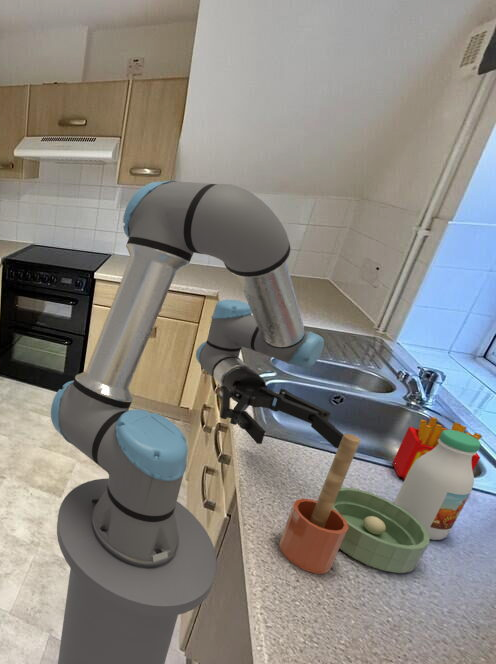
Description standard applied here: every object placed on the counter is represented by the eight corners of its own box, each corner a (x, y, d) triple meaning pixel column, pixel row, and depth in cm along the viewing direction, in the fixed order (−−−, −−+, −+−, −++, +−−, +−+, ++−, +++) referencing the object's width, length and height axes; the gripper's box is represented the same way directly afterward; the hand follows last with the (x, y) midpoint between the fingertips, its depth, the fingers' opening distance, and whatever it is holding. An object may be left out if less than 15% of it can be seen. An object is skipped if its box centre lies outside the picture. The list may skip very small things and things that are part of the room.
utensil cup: (281, 561, 70) (297, 521, 67) (277, 531, 76) (291, 492, 73) (334, 581, 67) (353, 540, 64) (325, 548, 73) (342, 508, 70)
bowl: (325, 552, 72) (336, 527, 70) (311, 502, 83) (321, 478, 81) (429, 589, 66) (444, 562, 64) (399, 529, 77) (412, 504, 75)
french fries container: (459, 499, 84) (490, 442, 80) (399, 481, 89) (425, 426, 84) (447, 479, 90) (475, 425, 85) (391, 463, 95) (415, 410, 90)
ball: (363, 533, 75) (369, 521, 74) (358, 522, 78) (364, 510, 77) (384, 540, 74) (390, 528, 73) (379, 528, 76) (385, 516, 75)
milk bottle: (404, 535, 76) (449, 445, 69) (380, 504, 83) (419, 420, 76) (457, 546, 74) (509, 455, 67) (428, 514, 81) (473, 428, 74)
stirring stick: (298, 554, 71) (345, 438, 62) (297, 545, 73) (342, 431, 64) (313, 559, 70) (362, 443, 62) (311, 550, 72) (358, 435, 63)
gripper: (291, 398, 94) (366, 460, 74) (180, 392, 95) (224, 452, 76) (301, 369, 91) (381, 425, 72) (186, 364, 93) (233, 418, 73)
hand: (300, 439), depth 74 cm, fingers open, 13 cm apart
